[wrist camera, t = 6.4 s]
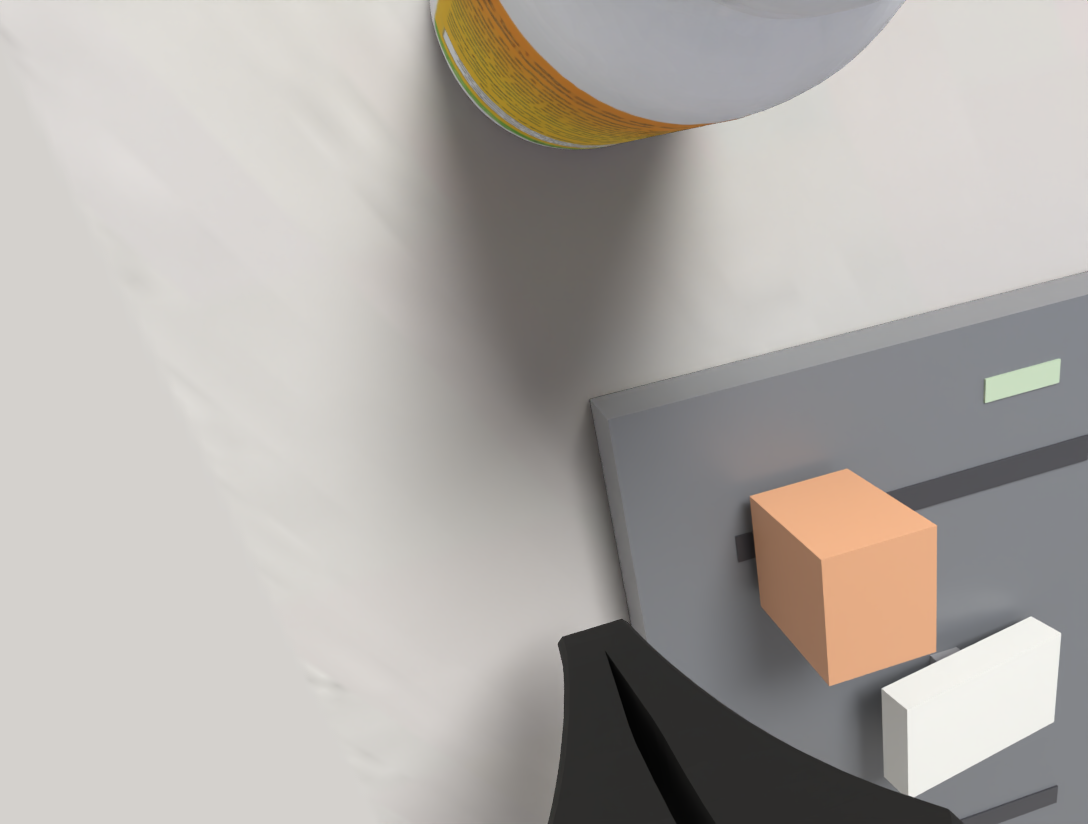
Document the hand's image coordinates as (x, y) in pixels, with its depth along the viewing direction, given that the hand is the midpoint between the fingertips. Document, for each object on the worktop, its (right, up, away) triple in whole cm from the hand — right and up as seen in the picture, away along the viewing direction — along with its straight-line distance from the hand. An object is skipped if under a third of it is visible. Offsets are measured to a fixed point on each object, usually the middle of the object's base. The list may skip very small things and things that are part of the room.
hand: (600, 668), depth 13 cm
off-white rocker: (+10, -3, +5) cm, 11 cm away
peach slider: (+5, +2, +3) cm, 6 cm away
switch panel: (+10, -1, +7) cm, 12 cm away
